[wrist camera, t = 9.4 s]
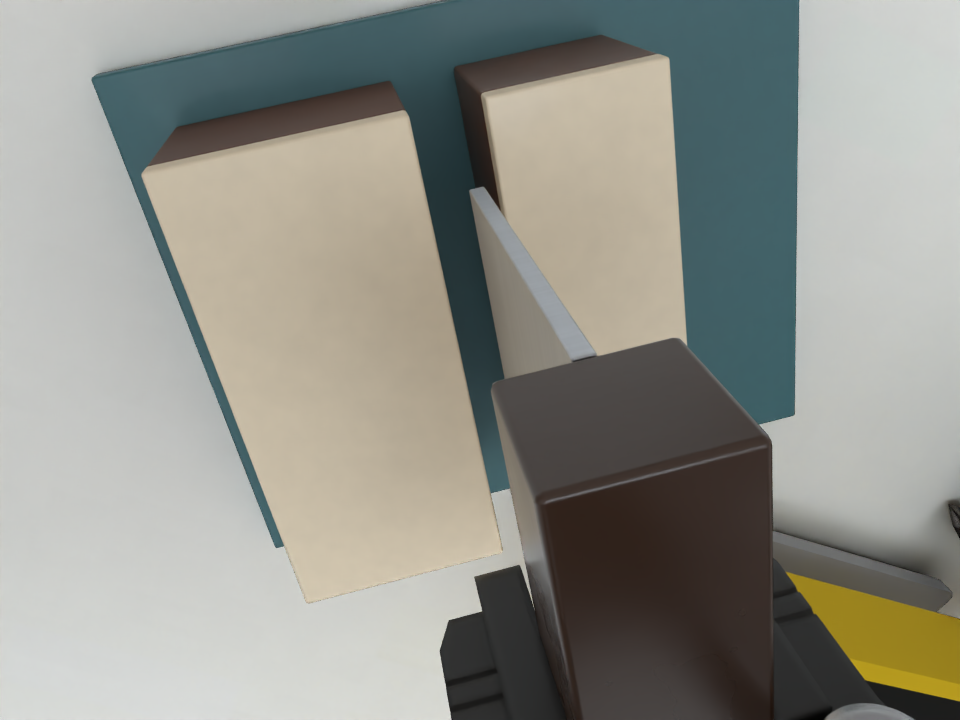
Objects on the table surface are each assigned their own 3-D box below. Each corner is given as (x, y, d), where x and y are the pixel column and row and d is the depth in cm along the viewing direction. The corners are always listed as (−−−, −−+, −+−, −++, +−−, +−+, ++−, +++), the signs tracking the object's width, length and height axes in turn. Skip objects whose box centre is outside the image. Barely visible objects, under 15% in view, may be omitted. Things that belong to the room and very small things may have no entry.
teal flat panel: (95, 74, 20) (30, 114, 15) (789, -73, 21) (917, -76, 17) (276, 537, 27) (268, 657, 23) (786, 407, 28) (875, 496, 24)
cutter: (418, 200, 15) (533, 500, 7) (533, 174, 15) (776, 437, 7) (505, 594, 20) (634, 1042, 12) (592, 571, 20) (778, 996, 12)
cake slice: (452, 66, 21) (484, 97, 17) (602, 33, 21) (670, 56, 17) (523, 447, 27) (559, 538, 23) (640, 417, 27) (697, 503, 23)
